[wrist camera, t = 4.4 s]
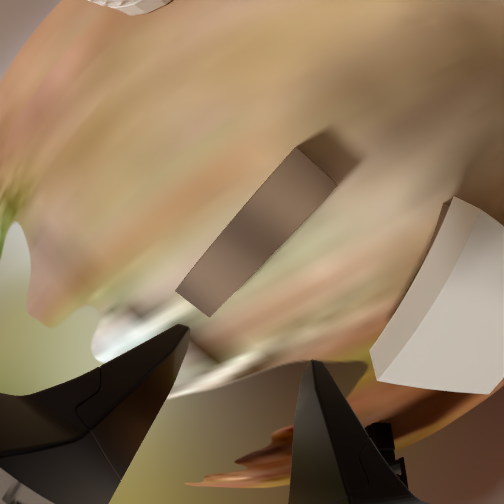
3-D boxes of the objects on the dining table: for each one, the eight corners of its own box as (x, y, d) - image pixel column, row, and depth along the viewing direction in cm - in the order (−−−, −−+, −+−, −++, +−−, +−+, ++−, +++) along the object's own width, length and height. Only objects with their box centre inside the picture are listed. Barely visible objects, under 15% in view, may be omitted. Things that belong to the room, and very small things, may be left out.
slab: (477, 372, 18) (488, 394, 15) (369, 350, 18) (377, 380, 15) (545, 266, 13) (564, 282, 10) (453, 196, 13) (480, 209, 10)
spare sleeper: (219, 296, 21) (209, 317, 19) (188, 272, 21) (174, 290, 18) (331, 178, 17) (337, 185, 14) (295, 146, 16) (296, 147, 14)
